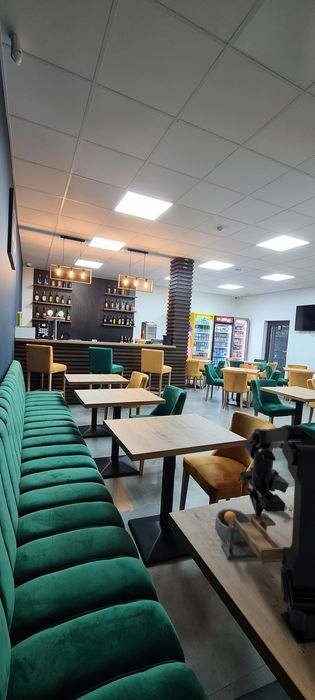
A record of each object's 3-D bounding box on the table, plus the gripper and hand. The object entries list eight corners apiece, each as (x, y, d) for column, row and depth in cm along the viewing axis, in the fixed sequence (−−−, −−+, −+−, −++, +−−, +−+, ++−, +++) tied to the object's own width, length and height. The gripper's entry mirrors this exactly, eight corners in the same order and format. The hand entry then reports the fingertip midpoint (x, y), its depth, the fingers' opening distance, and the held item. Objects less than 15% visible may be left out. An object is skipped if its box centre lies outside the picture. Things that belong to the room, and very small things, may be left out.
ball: (234, 524, 103) (239, 524, 100) (223, 525, 102) (227, 525, 99) (232, 511, 105) (237, 510, 102) (221, 511, 104) (225, 511, 101)
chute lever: (310, 560, 78) (310, 546, 78) (258, 564, 75) (258, 550, 76) (265, 516, 99) (265, 505, 100) (223, 518, 97) (224, 507, 97)
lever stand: (269, 556, 89) (272, 529, 88) (227, 559, 87) (230, 531, 86) (261, 544, 94) (264, 518, 93) (221, 546, 92) (223, 520, 91)
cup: (256, 541, 95) (258, 529, 95) (223, 543, 93) (224, 531, 93) (241, 519, 106) (242, 508, 105) (210, 520, 104) (211, 509, 104)
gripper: (304, 483, 89) (298, 533, 90) (270, 454, 107) (266, 497, 109) (269, 484, 87) (263, 535, 88) (240, 455, 105) (236, 498, 107)
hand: (257, 514), depth 98 cm, fingers closed
